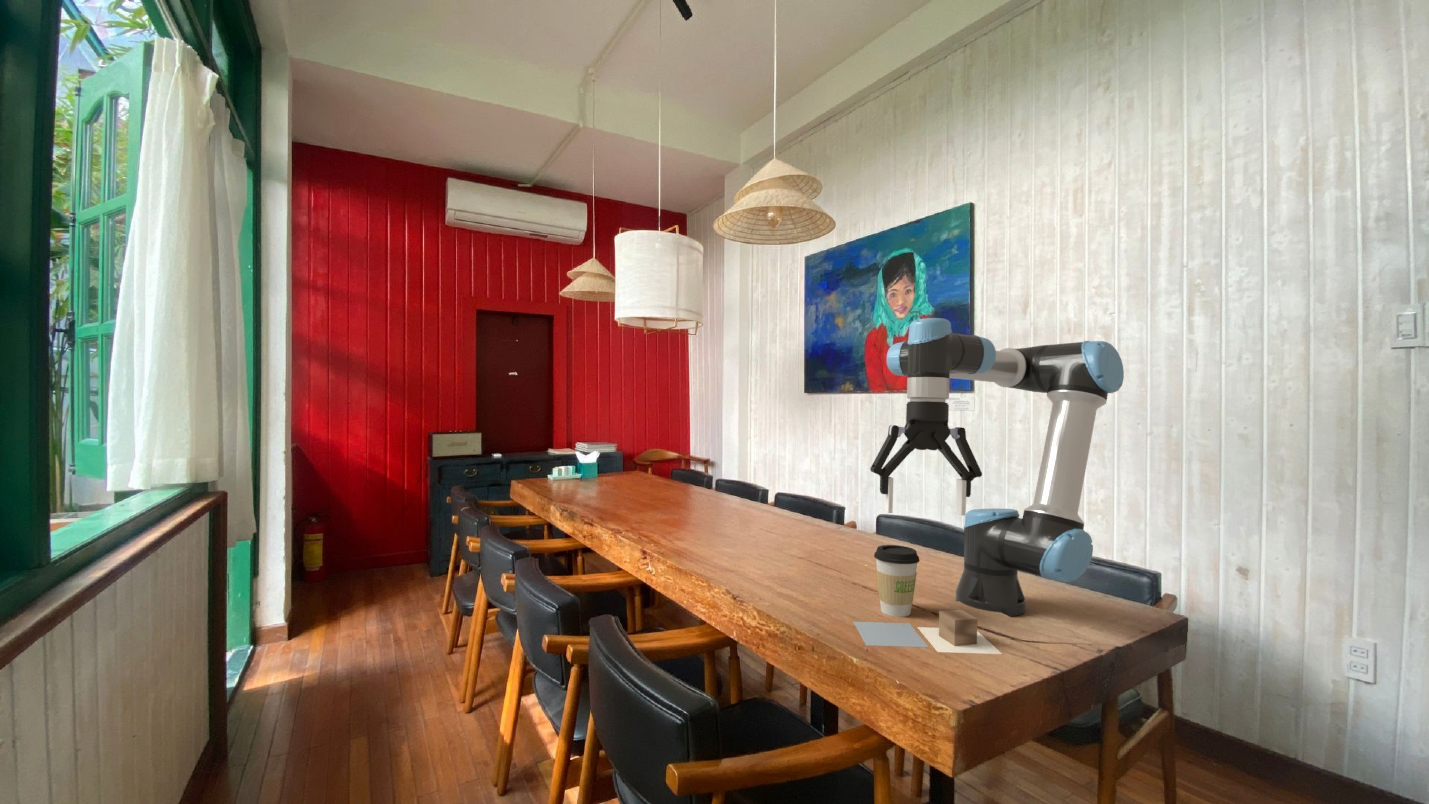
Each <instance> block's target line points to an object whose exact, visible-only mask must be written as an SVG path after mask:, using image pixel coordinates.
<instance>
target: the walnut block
mask: <svg viewBox="0 0 1429 804" xmlns="http://www.w3.org/2000/svg"><path fill="white" fill-rule="evenodd" d="M938 628H939V636H940V637H941V638H943V639H944V640H946V641H948V642H949V643H951V644H952V645H954V646H961V645H972V644H977V631H978V618H977V617H975V616H973V615H971V614H970V613H969V612H966V611H964V610H962V609H952V610H950V609H949V610H948V609H947V610H939V611H938Z"/></svg>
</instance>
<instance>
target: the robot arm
mask: <svg viewBox="0 0 1429 804" xmlns="http://www.w3.org/2000/svg"><path fill="white" fill-rule="evenodd" d="M907 339H908V340H907V341H906V340H904V341H902V342H897V343H894V344H892V345H891V346H890V347H889V348H888V350H887V353H886V365H887V369H888V370H889V371H890V373H892V374H893V375H895V376H901V377H902V376H903V377H907V378H906V379H907V381H906V382H907V383H906V384H907V385H906V398H907V399H908V400H909V401H907V403H906V414H905V415H906V416H905V425H904V426H899V425H896V424H890V425H889V427H888V432H887V436H886V438H885V441H884V442H883V444H882V446H881V447H880V450H879V452H878V453H877V455H876V457H875V459H874V461H873V462H872V464H871V466H870V472H872V473H874V474H876V475H878V476H879V492H880V494H881V495H884V506H883V507H884V509H883V510H884V512H887V513H888V514H892V513H893V508H894V507H893V503H894V501H893V500H894V477H891V476H890V475H892V473H893V472H895V470H896V469H897V468H898V467H899V466H900V465H901V463H903V462H904V460H905V459H906V458H907V457H908V456H909V455H910V453H913V452H914V450H918V451H925V450H927V451H928V450H929V451H939V452H940V453H941V454H942V456H943V457H944V458H945V459H946V461H947V462H948V463H949V464H950V465H951V467H952V468H953V469H954V470H955V472H956V473H957V475H959V477H960V478H956V479H955V480H956V481H955V483H956V484H955V485H956V486H955V514H958V515H959V516H964V526H963V531H964V532H963V533H964V534H963V538H964V539H963V542H964V543H963V546H964V547H963V548H964V549H963V552H964V553H963V571H962V573H961V577H960V578H959V581H958V584H957V587H956V590H955V602H960V603H961V604H964V605H965V606H968V607H970V608H974V609H978V610H983V611H987V612H991V613H992V612H993V613H994V612H995V613H1002V614H1004V615H1006V616H1007V617H1015V616H1021V615H1022V614H1024V613H1025V612H1026V604H1027V603H1026V598H1025V596H1024V591H1023V589H1022V587H1021V583H1020V580H1019V575H1018V574H1019V571H1020V572H1023V573H1024V572H1025V573H1028V574H1031V575H1035V576H1038V577H1042V578H1043V579H1045V580H1046V579H1047V580H1049V581H1056V582H1057V581H1058V582H1062V583H1071V582H1074V581H1076V580H1078V579H1079V578H1080V577H1081V576H1082V575H1084V573H1085V572H1086V570H1087V569H1088V567H1089V565H1090V563H1091V561H1092V558H1093V553H1094V545H1093V544H1092V543H1093V539H1092V537H1091V535H1090V534H1089V532H1087V531H1086V530H1084V526H1085V522H1084V520H1083V519H1082V518H1081V517H1080V516H1079V510H1080V509H1079V508H1080V502H1081V497H1082V492H1083V487H1084V486H1083V485H1084V480H1085V476H1086V470H1087V464H1088V461H1089V460H1088V458H1089V455H1090V448H1091V443H1092V437H1093V432H1094V431H1093V430H1094V426H1095V422H1096V415H1097V411H1098V409H1099V408H1102V407H1103V406H1105V405H1106V404H1107V400H1108V395H1109V394H1114V393H1115V392H1116V393H1117V392H1118V391H1119V390H1120V388H1121V387H1122V386H1123V382H1124V379H1125V378H1124V374H1125V371H1124V364H1123V362H1122V361H1123V360H1122V359H1121V356H1120V354H1119V352H1118V350H1117V349H1116V348H1115V346H1114V345H1112V343H1109V342H1107V341H1103V340H1101V341H1100V340H1093V341H1090V340H1084V341H1079V342H1067V343H1056V344H1043V345H1036V346H1029V347H1021V348H1012V347H1006V348H1002V349H1000V350H996V347H995V345H994V344H993V342H992V341H991V340H989V339H988V338H986V337H983V336H980V335H976V334H975V335H974V334H973V335H971V334H962V333H961V334H960V333H956V332H955V333H954V332H953V330H952V323H951V321H949V320H948V319H946V318H942V317H941V318H940V317H938V318H937V317H927V318H919V319H915V320H913V321H912V322H911V323H910V325H909V328H908V337H907ZM950 379H955V380H957V379H958V380H966V381H967V380H968V381H978V382H990V383H994V384H996V386H999V387H1002V388H1008V389H1016V390H1020V391H1021V390H1023V391H1028V392H1034V393H1041V394H1043V393H1044V394H1046V397H1047V398H1048V399H1049V401H1050V402H1051V403H1052V406H1051V411H1050V416H1049V421H1048V426H1047V431H1046V437H1045V440H1044V446H1043V452H1042V457H1041V462H1040V467H1039V472H1038V477H1037V482H1036V488H1035V493H1034V496H1033V497H1034V499H1033V503H1032V504H1031V505H1029V506H1027V507H1026V508H1024V510H1023V513H1022V514H1023V515H1022V517H1020V514H1019V513H1020V512H1019V511H1018V510H1017V509H1014V508H1013V509H1012V508H976V509H970V510H969V511H967V512H966V507H967V506H966V505H967V498H970V497H971V494H972V492H971V491H972V482H973V481H974V480H975V479H976V478H981V477H982V476H983V472H982V470H981V468H980V466H979V464H978V461H977V459H976V457H975V455H974V453H973V451H972V449H971V447H970V444H969V443H968V440H967V433H966V428H964V427H960V426H958V427H953V428H950V427H949V415H950V414H949V413H950V412H949V411H950V408H949V407H950V406H949V403H948V402H946V401H947V400H949V399H950ZM903 434H904V436H905V437H906V441H904V443H903V444H902V445H901V447H900V448H899V449H898V451H897V452H896V453H895V454H894V455H893V456H892V457H891V459H889V460H888V461H887V459H888V458H889V455H890V453H891V452H892V451H893V448H894V446H895V444H896V442H897V440H898V438H900V437H901V436H902V435H903ZM949 436H951V438H952V439H953V440H954V441H955V442H954V443H955V445H956V446H957V449H958V450H959V452H960V455H961V457H962V459H963V461H964V463H965V465H966V466H965V465H964V464H963V462H962V461H961V460H960V458H959V457H958V456H957V454H956V453H955V452H954V451H953V450H952V448H951V446H950V445H949V444H948V442H947V441H946V440H947V439H948V438H949ZM886 461H887V463H886ZM885 463H886V464H885Z"/></svg>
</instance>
